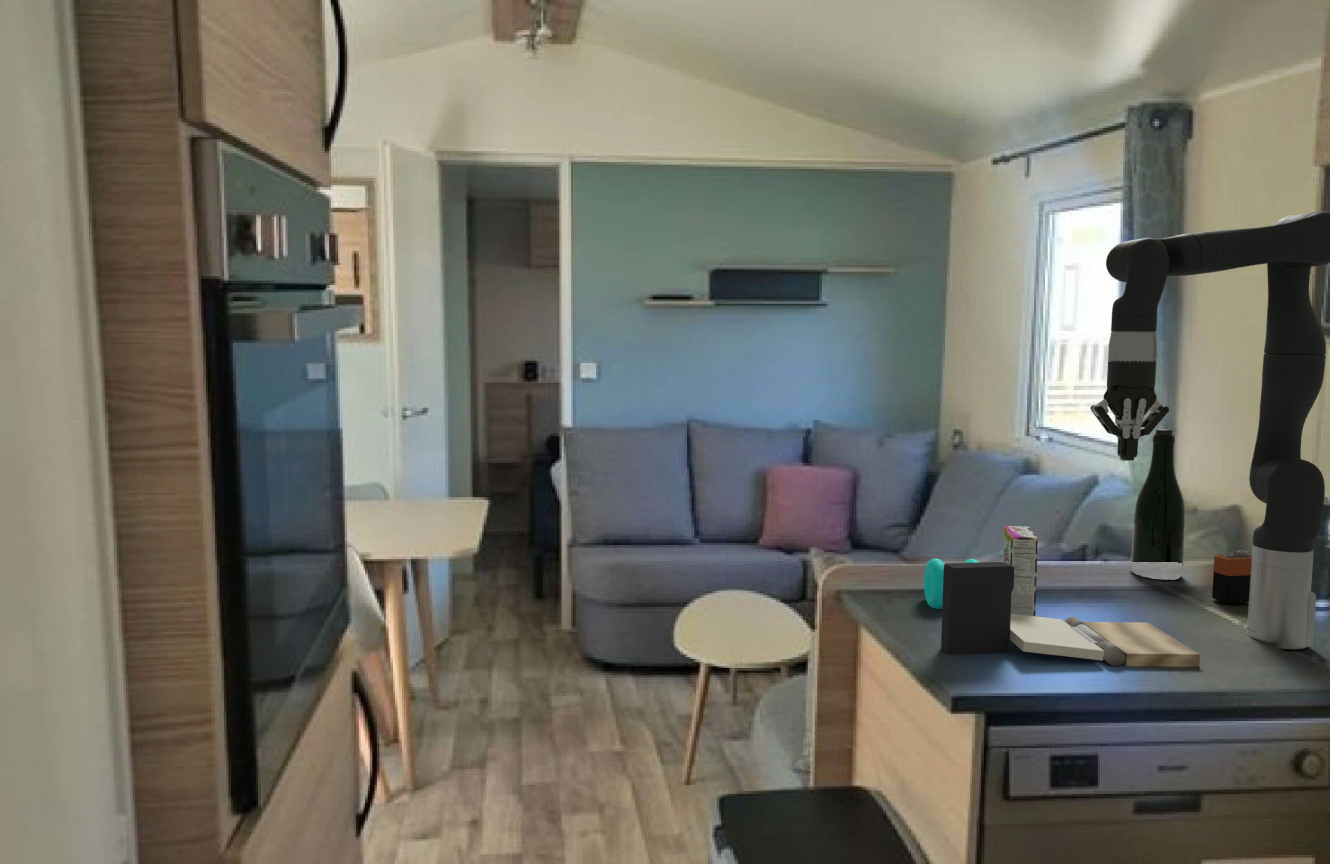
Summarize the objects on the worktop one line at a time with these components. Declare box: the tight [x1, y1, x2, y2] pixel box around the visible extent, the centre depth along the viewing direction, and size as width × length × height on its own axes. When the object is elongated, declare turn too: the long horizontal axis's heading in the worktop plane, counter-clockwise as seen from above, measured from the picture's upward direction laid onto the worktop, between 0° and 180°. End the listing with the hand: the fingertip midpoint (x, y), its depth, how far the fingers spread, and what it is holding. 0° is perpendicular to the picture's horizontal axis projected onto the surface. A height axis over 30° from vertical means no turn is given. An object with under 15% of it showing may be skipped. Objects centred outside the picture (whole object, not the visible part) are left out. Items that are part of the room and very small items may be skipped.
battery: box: [1211, 550, 1252, 604], centre depth 204 cm, size 4×7×10 cm, turn 104°
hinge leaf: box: [1010, 614, 1107, 661], centre depth 171 cm, size 16×18×3 cm
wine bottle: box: [1130, 428, 1186, 564], centre depth 222 cm, size 10×10×33 cm
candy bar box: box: [1002, 525, 1039, 616], centre depth 191 cm, size 11×5×16 cm, turn 168°
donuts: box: [923, 558, 980, 610], centre depth 195 cm, size 10×10×10 cm
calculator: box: [940, 561, 1014, 656], centre depth 169 cm, size 11×4×15 cm, turn 99°
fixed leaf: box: [1064, 616, 1201, 668], centre depth 171 cm, size 15×18×3 cm
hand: (1126, 459), depth 172 cm, fingers closed
